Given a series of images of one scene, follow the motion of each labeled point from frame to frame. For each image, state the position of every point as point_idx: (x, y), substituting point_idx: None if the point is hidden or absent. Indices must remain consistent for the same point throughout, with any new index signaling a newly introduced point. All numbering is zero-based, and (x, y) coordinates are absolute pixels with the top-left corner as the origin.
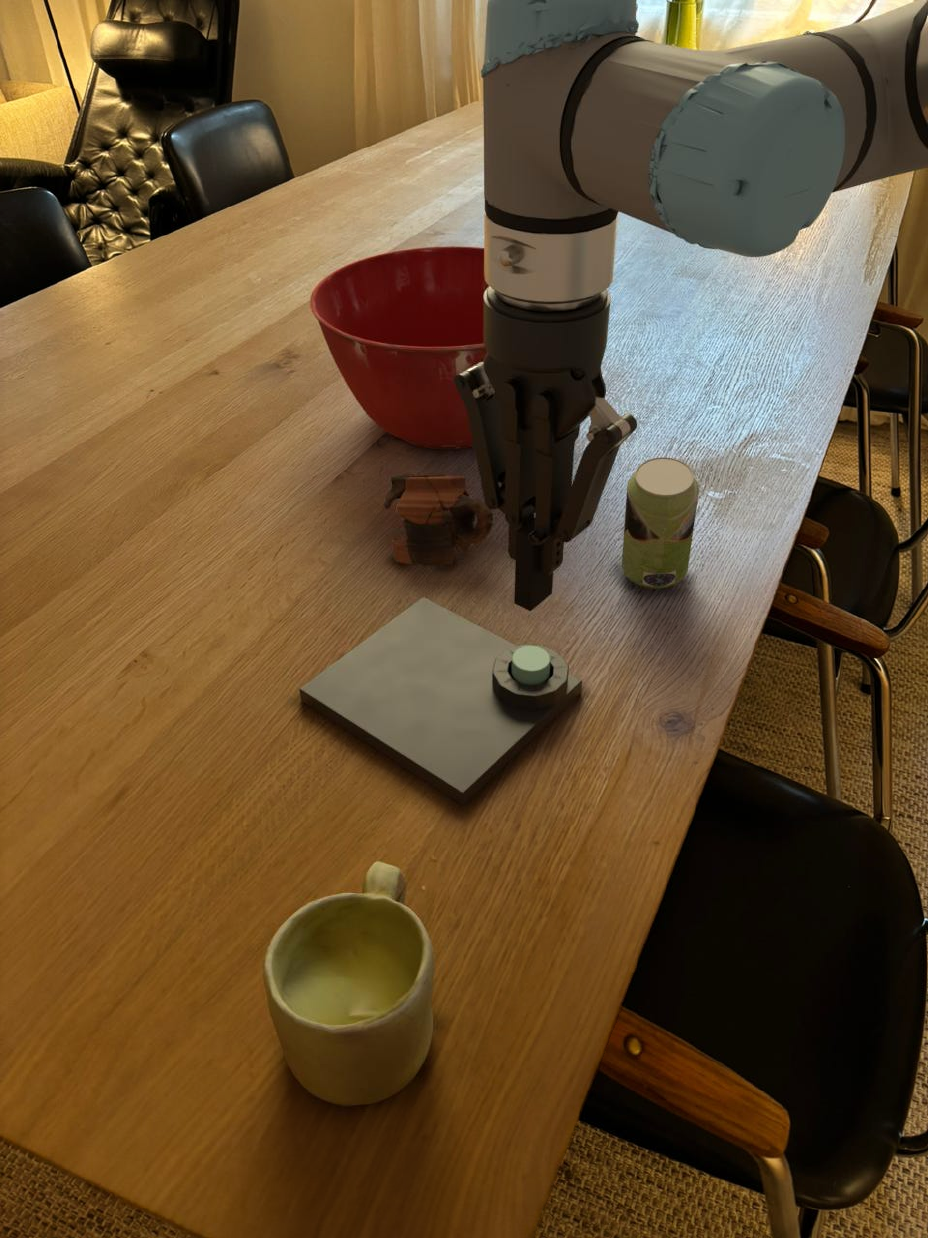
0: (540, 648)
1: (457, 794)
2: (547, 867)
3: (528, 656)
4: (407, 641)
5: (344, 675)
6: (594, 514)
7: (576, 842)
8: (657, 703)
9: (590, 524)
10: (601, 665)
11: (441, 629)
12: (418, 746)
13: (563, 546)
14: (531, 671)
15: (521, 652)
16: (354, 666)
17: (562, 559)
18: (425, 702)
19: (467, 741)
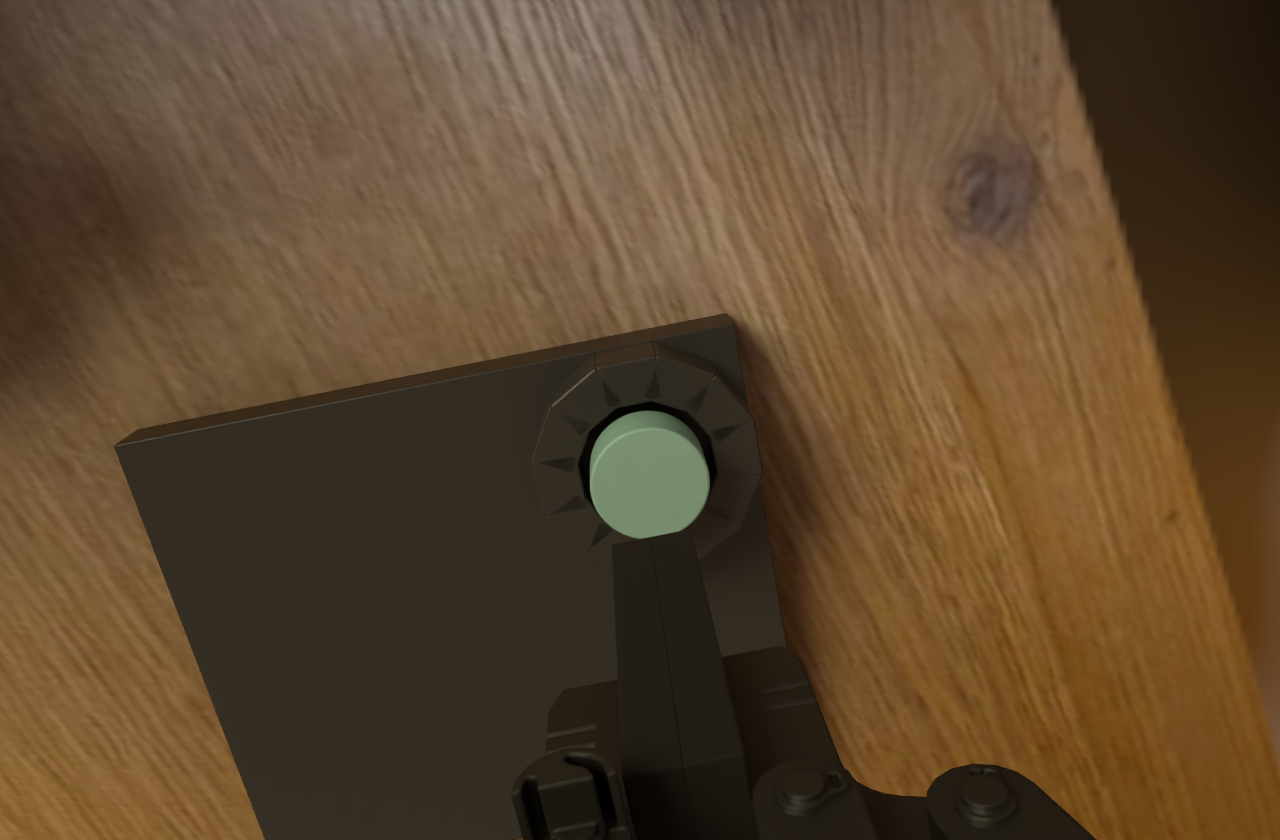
0: (636, 435)
1: None
2: (1034, 720)
3: (639, 487)
4: (280, 600)
5: (303, 786)
6: (1088, 832)
7: (1039, 640)
8: (906, 172)
9: (1024, 777)
10: (684, 180)
11: (290, 496)
12: None
13: (821, 714)
14: (693, 519)
15: (610, 490)
16: (287, 752)
17: (804, 670)
18: (519, 693)
19: None
